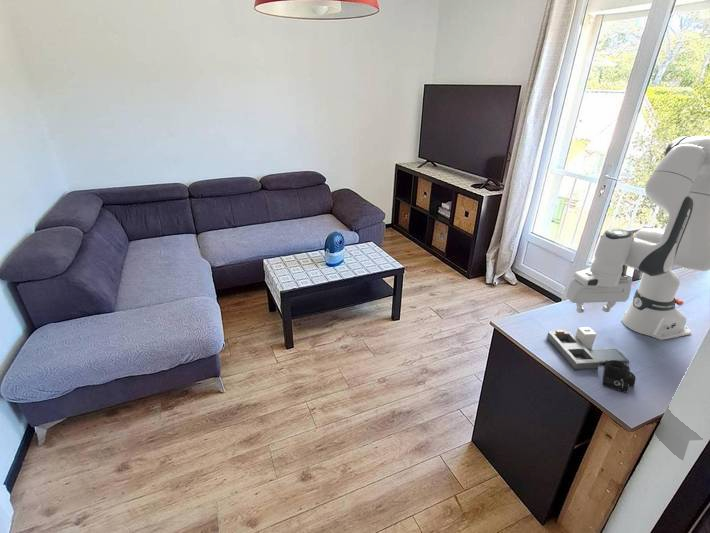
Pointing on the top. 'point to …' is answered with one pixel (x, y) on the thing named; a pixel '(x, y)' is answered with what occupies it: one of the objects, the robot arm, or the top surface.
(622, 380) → the film camera
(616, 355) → the plate
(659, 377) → the top surface
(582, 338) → the charger
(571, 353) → the power strip
